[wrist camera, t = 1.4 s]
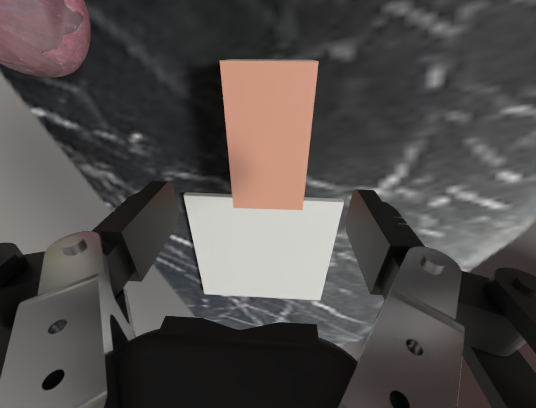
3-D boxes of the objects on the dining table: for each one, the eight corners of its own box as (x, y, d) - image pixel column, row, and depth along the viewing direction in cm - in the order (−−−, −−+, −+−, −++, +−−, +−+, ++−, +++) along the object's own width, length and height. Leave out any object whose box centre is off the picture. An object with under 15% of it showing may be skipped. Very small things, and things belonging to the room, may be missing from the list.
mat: (185, 192, 22) (183, 195, 22) (342, 198, 22) (343, 202, 21) (205, 289, 30) (204, 293, 30) (319, 296, 30) (320, 300, 29)
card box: (232, 59, 16) (219, 60, 13) (310, 59, 16) (318, 61, 13) (240, 184, 22) (233, 207, 18) (299, 185, 21) (302, 210, 18)
